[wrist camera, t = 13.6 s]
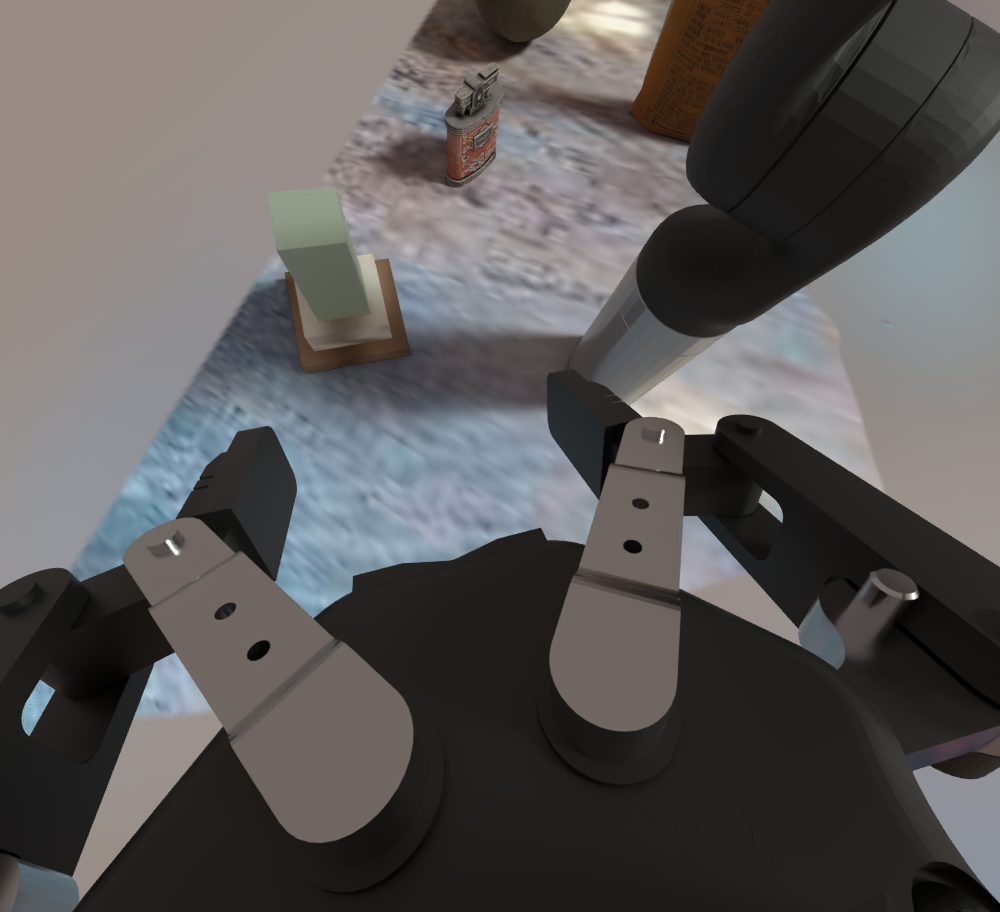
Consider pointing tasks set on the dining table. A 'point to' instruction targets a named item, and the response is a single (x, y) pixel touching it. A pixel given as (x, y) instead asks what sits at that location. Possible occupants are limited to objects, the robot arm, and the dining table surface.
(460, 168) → the lighter
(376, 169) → the dining table surface
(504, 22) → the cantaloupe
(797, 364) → the dining table surface
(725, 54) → the pancake mix bag
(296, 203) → the green post
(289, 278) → the build base
